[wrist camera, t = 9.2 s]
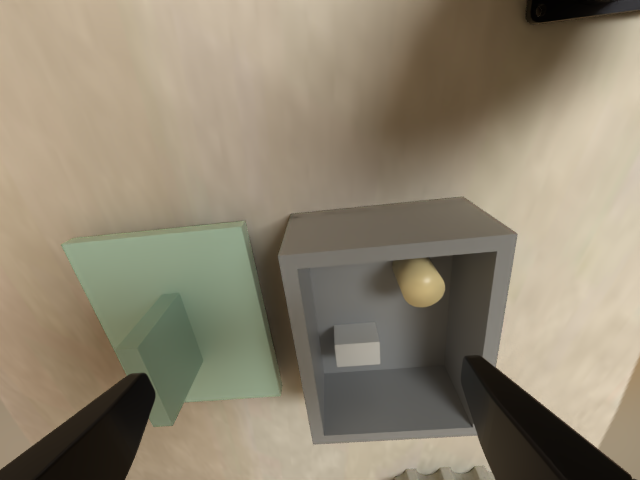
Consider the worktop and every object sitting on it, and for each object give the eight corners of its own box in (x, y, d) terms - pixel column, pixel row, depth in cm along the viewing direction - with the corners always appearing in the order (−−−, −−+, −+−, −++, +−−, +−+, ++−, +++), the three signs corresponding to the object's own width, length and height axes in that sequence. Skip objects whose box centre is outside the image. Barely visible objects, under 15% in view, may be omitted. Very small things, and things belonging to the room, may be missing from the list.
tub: (463, 196, 19) (517, 233, 14) (449, 362, 25) (484, 435, 20) (290, 213, 20) (277, 255, 14) (315, 371, 26) (313, 444, 20)
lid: (248, 215, 20) (213, 267, 14) (283, 375, 26) (270, 464, 20) (84, 232, 21) (-24, 289, 14) (154, 384, 27) (100, 473, 20)
